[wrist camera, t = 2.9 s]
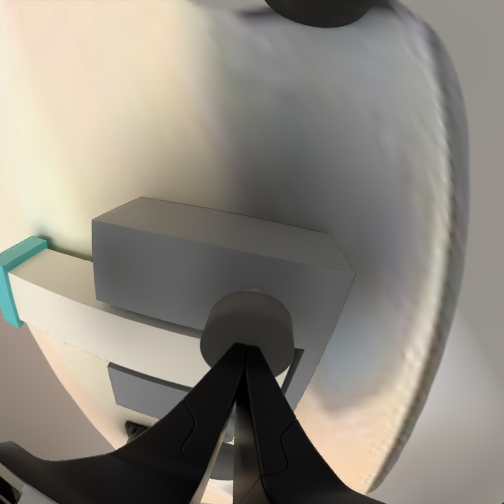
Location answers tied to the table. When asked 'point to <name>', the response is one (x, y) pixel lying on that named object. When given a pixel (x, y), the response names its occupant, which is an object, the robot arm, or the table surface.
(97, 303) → the bar
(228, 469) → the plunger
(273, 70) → the table surface
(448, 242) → the table surface
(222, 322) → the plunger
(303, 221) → the table surface
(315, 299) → the housing
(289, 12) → the travel mug
